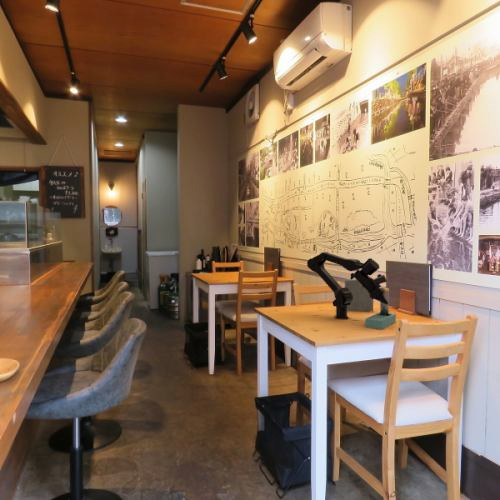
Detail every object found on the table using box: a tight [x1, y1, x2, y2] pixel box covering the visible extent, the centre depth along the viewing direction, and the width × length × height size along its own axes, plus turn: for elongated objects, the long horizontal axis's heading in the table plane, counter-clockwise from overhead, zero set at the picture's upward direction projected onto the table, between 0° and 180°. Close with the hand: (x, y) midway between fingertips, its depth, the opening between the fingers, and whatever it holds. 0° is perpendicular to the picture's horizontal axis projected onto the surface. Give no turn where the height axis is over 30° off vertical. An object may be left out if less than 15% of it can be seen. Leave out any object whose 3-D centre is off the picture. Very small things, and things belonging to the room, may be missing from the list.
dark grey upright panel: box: [344, 279, 374, 312], centre depth 234 cm, size 16×4×20 cm, turn 77°
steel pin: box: [379, 287, 390, 316], centre depth 204 cm, size 4×4×14 cm
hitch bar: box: [364, 311, 397, 330], centre depth 200 cm, size 20×8×4 cm, turn 143°
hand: (387, 303), depth 203 cm, fingers closed on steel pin, 4 cm apart
